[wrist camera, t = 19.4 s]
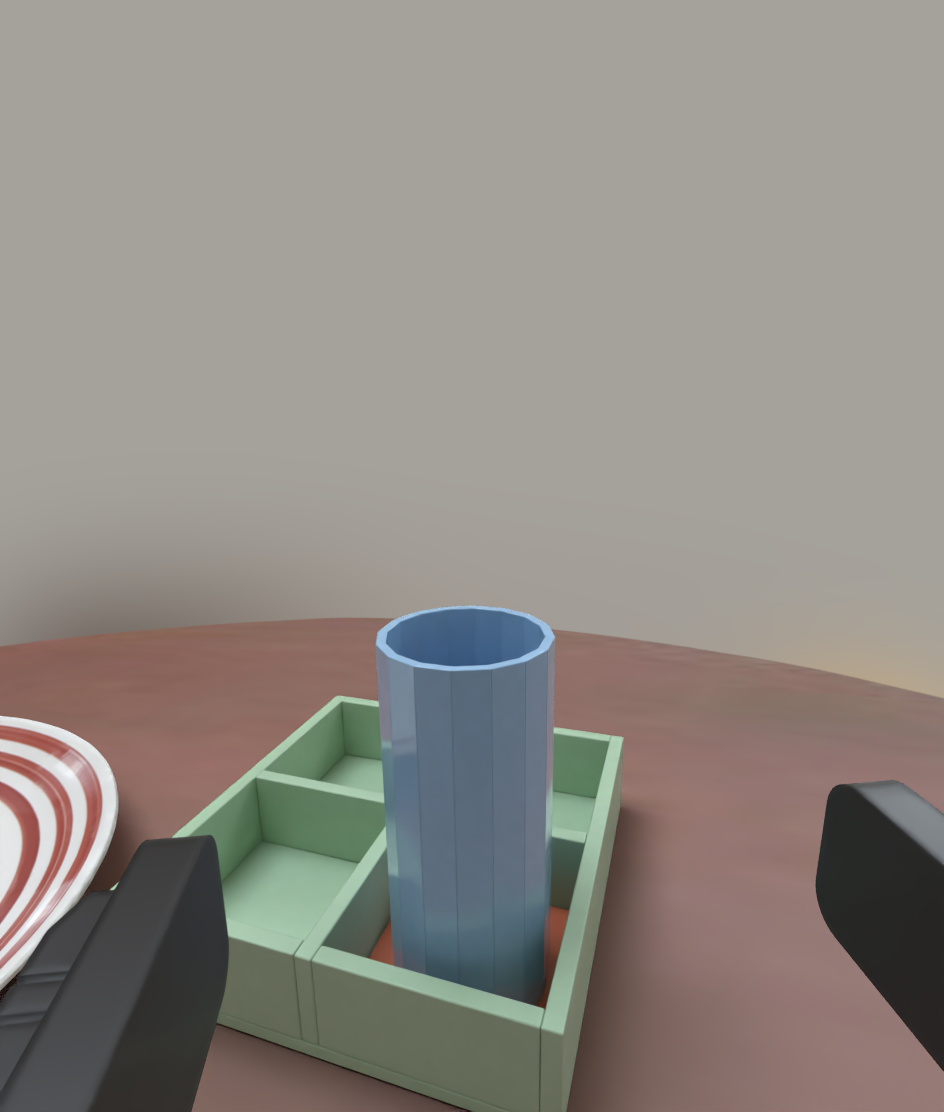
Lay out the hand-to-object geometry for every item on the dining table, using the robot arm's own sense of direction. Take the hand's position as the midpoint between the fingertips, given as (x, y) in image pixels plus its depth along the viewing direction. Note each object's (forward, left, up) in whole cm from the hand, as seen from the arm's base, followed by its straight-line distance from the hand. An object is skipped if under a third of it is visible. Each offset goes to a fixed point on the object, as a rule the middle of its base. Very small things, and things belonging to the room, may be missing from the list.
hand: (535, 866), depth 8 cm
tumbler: (-4, +10, -13) cm, 17 cm away
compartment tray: (-8, +14, -14) cm, 21 cm away
